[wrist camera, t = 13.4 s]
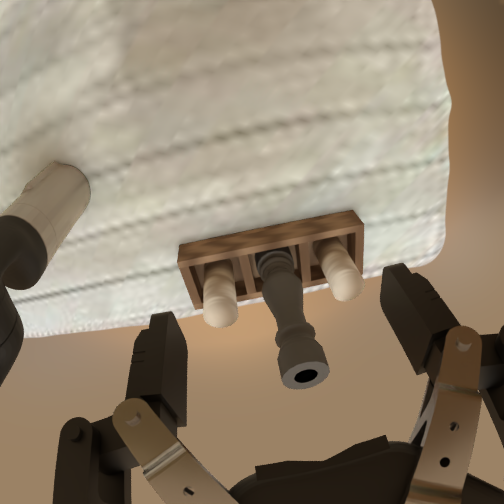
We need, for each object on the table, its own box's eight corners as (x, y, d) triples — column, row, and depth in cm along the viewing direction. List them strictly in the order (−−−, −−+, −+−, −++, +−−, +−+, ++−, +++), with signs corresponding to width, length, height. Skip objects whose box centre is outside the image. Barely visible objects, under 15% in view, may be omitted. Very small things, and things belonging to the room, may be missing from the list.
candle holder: (297, 251, 56) (342, 368, 35) (273, 275, 58) (304, 394, 38) (270, 232, 53) (307, 353, 33) (246, 258, 56) (268, 382, 35)
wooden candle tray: (195, 291, 60) (194, 344, 49) (179, 245, 54) (172, 296, 43) (352, 258, 60) (379, 304, 49) (352, 210, 54) (385, 251, 43)
